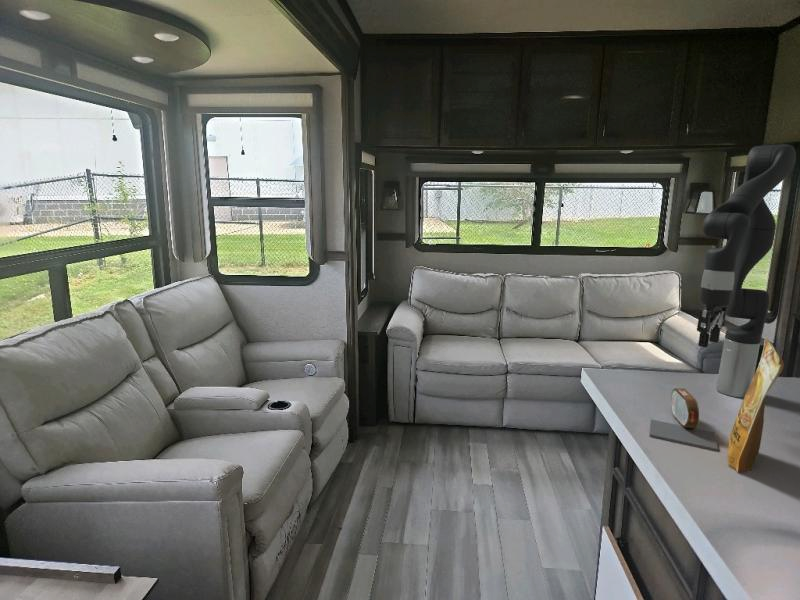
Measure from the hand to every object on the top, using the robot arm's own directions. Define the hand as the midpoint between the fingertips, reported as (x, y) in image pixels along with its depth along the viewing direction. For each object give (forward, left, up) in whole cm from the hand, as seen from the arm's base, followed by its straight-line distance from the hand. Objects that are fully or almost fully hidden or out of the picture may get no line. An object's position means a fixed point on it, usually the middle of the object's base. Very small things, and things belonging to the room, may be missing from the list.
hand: (708, 344), depth 143 cm
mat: (+19, -4, -20) cm, 28 cm away
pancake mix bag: (+26, +8, -20) cm, 34 cm away
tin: (+11, -4, -20) cm, 23 cm away
